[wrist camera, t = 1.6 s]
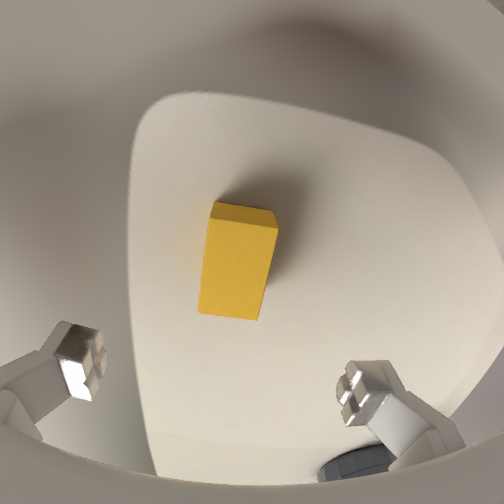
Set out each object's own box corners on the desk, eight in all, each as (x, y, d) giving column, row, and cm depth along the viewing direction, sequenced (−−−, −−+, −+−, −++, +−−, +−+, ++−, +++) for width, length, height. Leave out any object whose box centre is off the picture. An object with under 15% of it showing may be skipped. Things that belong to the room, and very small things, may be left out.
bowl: (403, 434, 27) (417, 470, 22) (387, 465, 31) (396, 495, 26) (316, 457, 27) (324, 498, 22) (316, 484, 32) (321, 515, 27)
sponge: (213, 201, 15) (209, 217, 12) (273, 210, 15) (279, 228, 13) (202, 286, 17) (197, 313, 15) (254, 294, 17) (257, 321, 15)
